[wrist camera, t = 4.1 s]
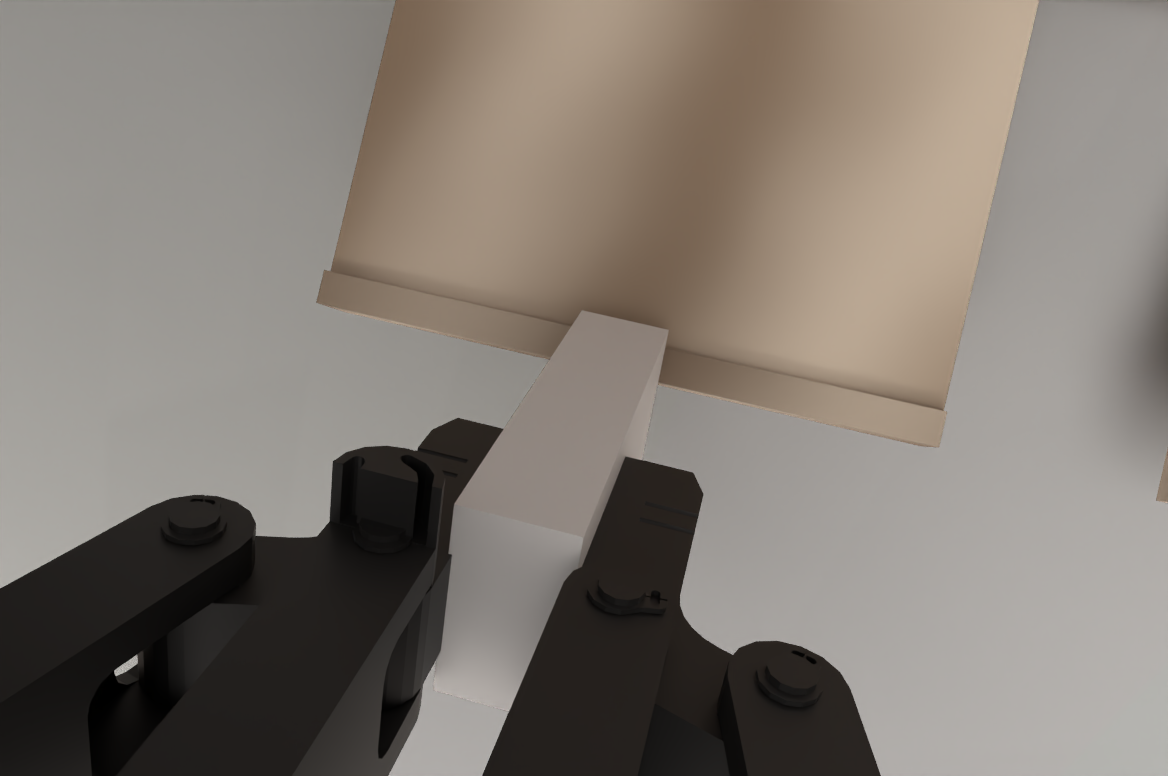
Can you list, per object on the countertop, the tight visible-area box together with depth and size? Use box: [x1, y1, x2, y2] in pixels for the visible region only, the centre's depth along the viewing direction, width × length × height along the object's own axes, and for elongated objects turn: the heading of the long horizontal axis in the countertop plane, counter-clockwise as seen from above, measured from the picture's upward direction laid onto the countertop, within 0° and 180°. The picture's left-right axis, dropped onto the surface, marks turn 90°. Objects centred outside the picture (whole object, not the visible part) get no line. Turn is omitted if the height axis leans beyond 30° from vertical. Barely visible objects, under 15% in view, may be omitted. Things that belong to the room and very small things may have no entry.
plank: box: [316, 0, 1039, 447], centre depth 19 cm, size 11×8×2 cm
